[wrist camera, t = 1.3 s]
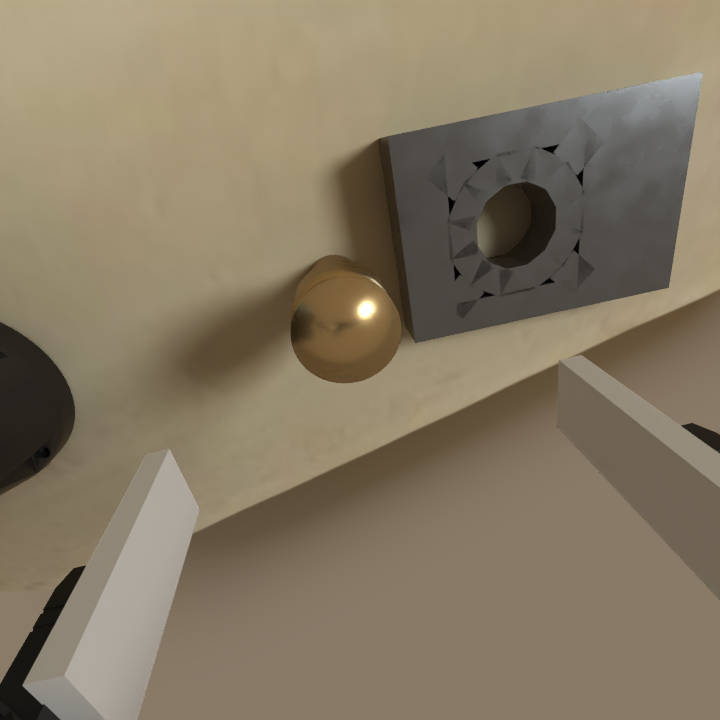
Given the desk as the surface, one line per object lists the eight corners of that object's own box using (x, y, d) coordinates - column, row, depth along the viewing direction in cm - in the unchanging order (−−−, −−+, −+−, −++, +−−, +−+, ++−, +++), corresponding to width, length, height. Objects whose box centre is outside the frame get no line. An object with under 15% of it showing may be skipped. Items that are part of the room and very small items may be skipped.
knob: (305, 324, 34) (305, 392, 24) (286, 250, 31) (277, 293, 21) (378, 308, 34) (408, 370, 24) (365, 233, 31) (392, 268, 21)
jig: (405, 326, 35) (415, 342, 32) (378, 138, 28) (387, 136, 25) (636, 276, 35) (668, 287, 32) (659, 81, 29) (703, 71, 26)
